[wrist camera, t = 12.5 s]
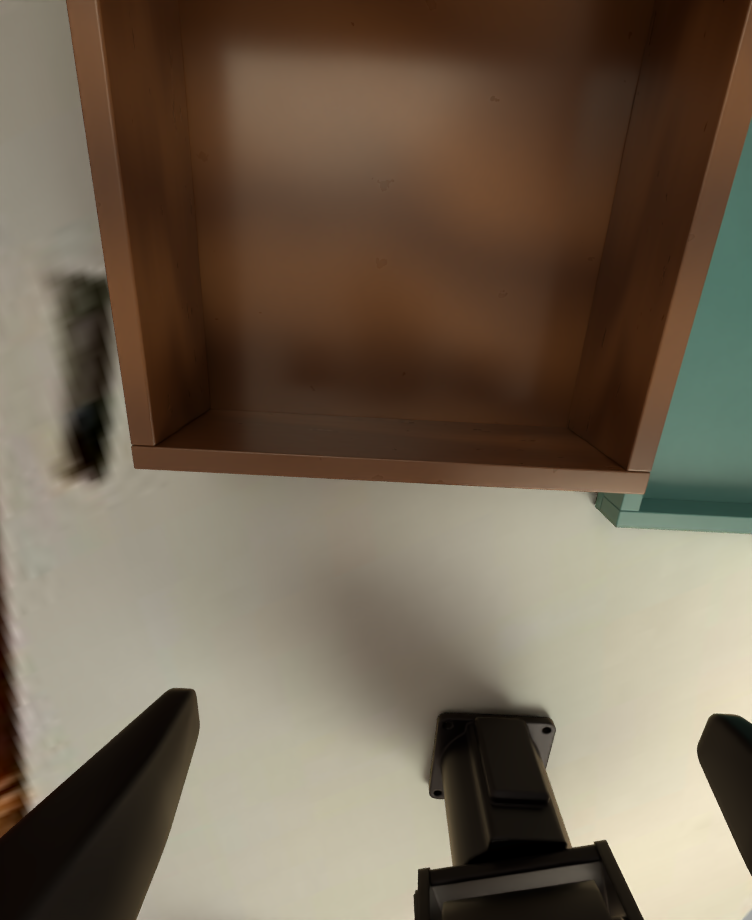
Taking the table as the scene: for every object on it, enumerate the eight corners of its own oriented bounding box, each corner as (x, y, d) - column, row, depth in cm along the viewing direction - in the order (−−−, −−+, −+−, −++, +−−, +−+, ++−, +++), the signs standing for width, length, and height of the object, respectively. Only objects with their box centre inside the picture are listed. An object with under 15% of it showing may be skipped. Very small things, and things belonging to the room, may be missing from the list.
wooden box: (577, 443, 20) (645, 495, 15) (197, 423, 20) (133, 469, 15) (678, -24, 14) (842, -198, 9) (154, -55, 14) (27, -248, 9)
